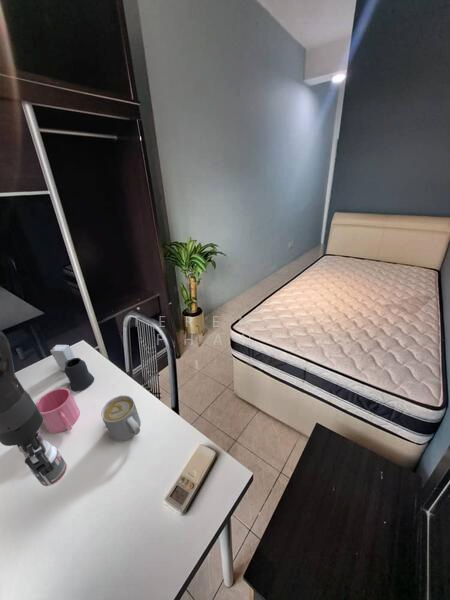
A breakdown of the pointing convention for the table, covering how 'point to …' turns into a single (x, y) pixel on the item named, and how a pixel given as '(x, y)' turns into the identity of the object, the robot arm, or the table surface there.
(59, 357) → the cosmetic box
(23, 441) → the robot arm
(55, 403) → the pink ribbed cup
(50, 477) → the pill bottle
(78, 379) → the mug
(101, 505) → the table surface
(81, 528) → the table surface
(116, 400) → the coffee mug
